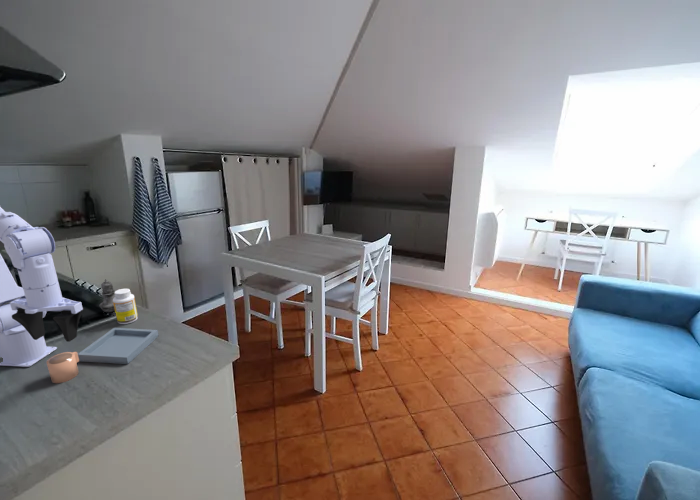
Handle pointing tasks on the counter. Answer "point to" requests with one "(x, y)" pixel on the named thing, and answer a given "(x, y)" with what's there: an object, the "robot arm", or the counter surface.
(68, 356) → the terracotta cup
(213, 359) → the counter surface
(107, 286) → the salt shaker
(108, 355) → the tray
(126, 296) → the supplement bottle
